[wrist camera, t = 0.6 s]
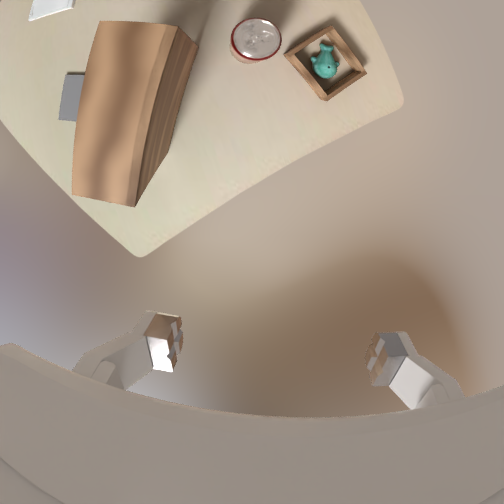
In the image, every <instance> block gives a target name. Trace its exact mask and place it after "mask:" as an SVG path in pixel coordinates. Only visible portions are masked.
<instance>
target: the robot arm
mask: <svg viewBox="0 0 504 504" xmlns="http://www.w3.org/2000/svg"><path fill="white" fill-rule="evenodd" d="M181 325H182V320H181V317H180V316H176V315H170V314H165V313H160V312H154V311H149V310H147V311H145V312H144V314H143V315H142V317H141V318H140V320H139V321H138V323H137V325H136V326H135V327H134V329H133V331H132V332H131V333H126V334H124V335H122V336H120V337H118V338H115V339H113V340H111V341H109V342H107V343H105V344H103V345H101V346H99V347H96V348H94V349H92V350H90V351H88V352H86V353H84V355H83V356H82V357H81V359H80V360H79V362H78V363H77V364H76V366H75V368H74V369H73V370H72V371H70V370H67V369H65V368H63V367H60V366H58V365H56V364H54V363H52V362H49V361H47V360H45V359H43V358H41V357H39V356H36V355H35V354H33V353H31V352H29V351H27V350H25V349H23V348H22V347H20V346H18V345H16V344H13V343H8V344H4V345H1V346H0V504H504V385H503V386H500V387H497V388H495V389H492V390H489V391H486V392H483V393H480V394H476V395H473V396H470V397H466V398H465V397H464V394H463V392H462V390H461V388H460V386H459V385H458V382H457V381H456V380H455V379H454V378H453V377H451V376H450V375H448V374H447V373H445V372H444V371H443V370H441V369H440V368H438V367H437V366H436V365H434V364H433V363H431V362H430V361H429V360H427V359H426V358H424V357H423V356H421V355H418V353H417V352H416V350H415V348H414V346H413V344H412V342H411V340H410V338H409V336H408V334H407V333H406V332H376V333H375V334H374V335H373V336H372V339H371V340H372V344H371V345H370V346H369V347H368V348H367V351H366V354H365V364H366V367H367V368H368V369H369V370H370V371H371V372H370V374H369V377H370V380H371V384H372V386H387V385H389V387H390V388H391V389H392V390H393V391H394V392H395V393H396V394H397V395H398V396H399V397H400V399H402V401H403V402H404V403H405V404H406V405H407V406H408V407H409V408H410V409H411V410H407V411H399V412H392V413H384V414H375V415H364V416H351V417H328V418H298V417H297V418H296V417H274V416H272V417H271V416H260V415H249V414H239V413H231V412H223V411H215V410H209V409H204V408H197V407H192V406H187V405H182V404H177V403H173V402H168V401H164V400H159V399H156V398H152V397H147V396H144V395H140V394H136V393H133V392H130V391H126V389H128V388H129V387H130V386H132V385H133V384H134V383H136V382H137V381H138V380H140V379H141V378H142V377H144V376H145V375H147V374H148V373H149V372H150V371H152V370H153V368H155V369H160V370H165V371H171V372H173V370H174V367H175V365H176V362H177V356H176V355H178V354H179V353H180V352H181V349H182V345H183V332H182V331H181V329H180V328H181Z"/></svg>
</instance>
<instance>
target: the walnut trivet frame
mask: <svg viewBox="0 0 504 504" xmlns="http://www.w3.org/2000/svg"><path fill="white" fill-rule="evenodd" d="M324 34H326V35H327V36H328V37H329V39H330V40H331V41H332V42H333V44H334V45H335V46H336V47H337V49H338V50H339V51H340V53H341V54H342V55H343V57H344V58H345V59H346V61H347V62H348V63H349V65H350V66H351V68H352V69H353V70H354V72H353V73H351V74H350V75H348V76H347V77H345V78H344V79H342V80H341V81H339V82H338V83H336V84H335V85H334V86H332V87H331V88H329V89H328V90H326V91H325V92H324V90H323V89H322V88H321V87H320V85H319V84H318V83H317V81H316V80H315V79H314V78H313V76H312V75H311V74H310V73H309V72H308V70H307V69H306V68H305V67H304V66H303V64H302V63H301V62H300V61H299V60H298V59H297V57H296V56H295V55H294V54H295V53H297V52H298V51H299V50H301V49H302V48H304V47H305V46H307V45H309V44H310V43H312V42H313V41H315V40H316V39H318V38H320V37H321V36H323V35H324ZM284 56H285V57H286V58H287V59H288V60H289V62H290V63H291V64H292V65H293V66H294V67H295V68H296V70H297V71H298V72H299V73H300V74H301V75H302V77H303V78H304V79H305V80H306V81H307V83H308V84H309V85H310V86H311V88H312V89H313V90H314V91H315V93H316V94H317V95H318V97H319V98H320V99H321V100H324V101H328V100H329V99H331V98H332V97H334V96H335V95H336V94H338V93H339V92H341V91H342V90H344V89H345V88H346V87H348V86H349V85H351V84H352V83H354V82H355V81H357V80H358V79H360V78H361V77H363V76H364V75H366V74H367V73H366V71H365V70H364V68H363V67H362V65H361V64H360V62H359V61H358V59H357V58H356V57H355V55H354V54H353V52H352V51H351V50H350V48H349V47H348V46H347V44H346V43H345V42H344V40H343V39H342V38H341V37H340V35H339V34H338V33H337V32H336V30H335V29H334V28H333V27H332V25H331V26H328V27H326V28H324V29H322V30H320V31H319V32H317V33H316V34H314V35H312V36H311V37H309V38H308V39H306V40H304V41H303V42H301V43H300V44H298V45H297V46H295V47H294V48H292V49H291V50H289V51H288V52H287V53H285V54H284Z"/></svg>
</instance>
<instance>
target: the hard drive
mask: <svg viewBox="0 0 504 504" xmlns="http://www.w3.org/2000/svg"><path fill="white" fill-rule="evenodd" d="M74 4H75V0H33V4H32V8H31V11H30V16H29V21H33V20H35V19H38V18H41V17H44V16H47V15H50V14H54V13H57V12H61V11H64V10H68V9H72V8H74Z"/></svg>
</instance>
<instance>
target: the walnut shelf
mask: <svg viewBox="0 0 504 504" xmlns="http://www.w3.org/2000/svg"><path fill="white" fill-rule="evenodd" d="M198 48H199V47H198V46H197V45H196V44H195V43H194V42H193V41H192V40H191V39H190V38H189V37H188V36H187V35H186V34H185V33H184V32H183V31H182V30H181V29H180V28H179V27H178V26H173V25H165V24H156V23H146V22H130V21H100V22H99V25H98V28H97V31H96V34H95V38H94V41H93V44H92V48H91V51H90V55H89V59H88V63H87V67H86V71H85V76H84V80H83V85H82V90H81V96H80V101H79V108H78V114H77V122H76V130H75V139H74V151H73V168H72V195H76V196H81V197H86V198H91V199H96V200H101V201H106V202H111V203H116V204H121V205H126V206H130V207H135V206H136V204H137V202H138V201H139V199H140V197H141V195H142V194H143V192H144V190H145V189H146V187H147V185H148V183H149V182H150V180H151V178H152V177H153V175H154V174H155V172H156V170H157V169H158V167H159V166H160V164H161V162H162V161H163V159H164V158H165V156H166V155H167V153H168V150H169V146H170V142H171V138H172V134H173V130H174V126H175V122H176V118H177V115H178V111H179V107H180V104H181V100H182V97H183V94H184V90H185V87H186V84H187V81H188V78H189V74H190V71H191V68H192V65H193V62H194V60H195V57H196V54H197V51H198Z"/></svg>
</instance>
